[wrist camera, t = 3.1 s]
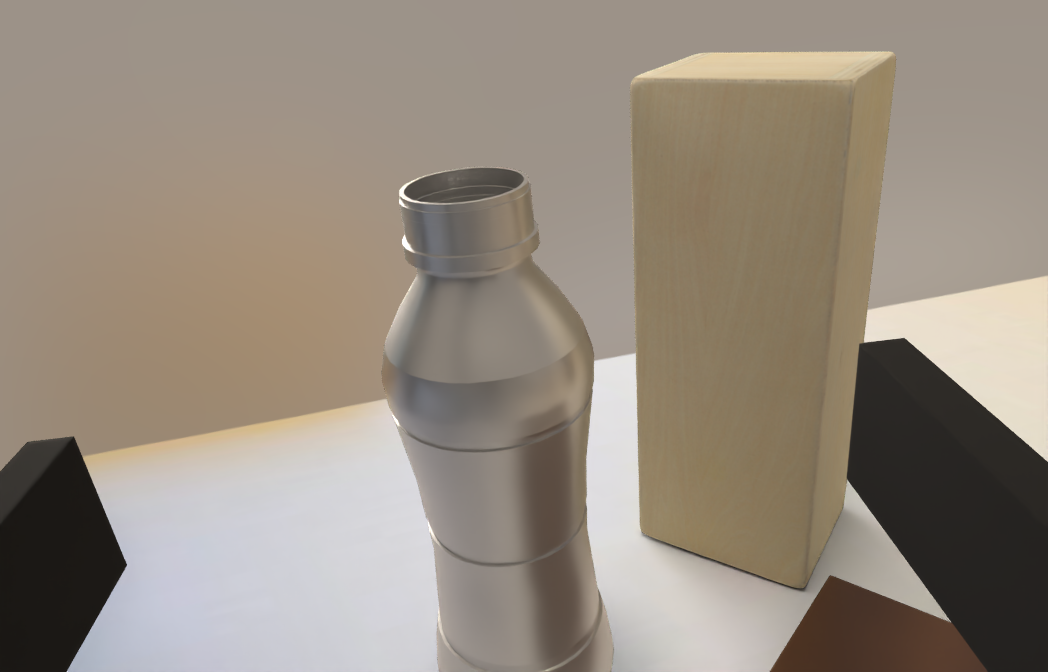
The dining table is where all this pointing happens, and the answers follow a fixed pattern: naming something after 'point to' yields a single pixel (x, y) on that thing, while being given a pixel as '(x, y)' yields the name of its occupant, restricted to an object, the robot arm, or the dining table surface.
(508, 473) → the silver metal bottle
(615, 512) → the dining table surface
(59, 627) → the robot arm
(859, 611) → the walnut board
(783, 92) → the toy refrigerator
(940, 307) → the dining table surface
